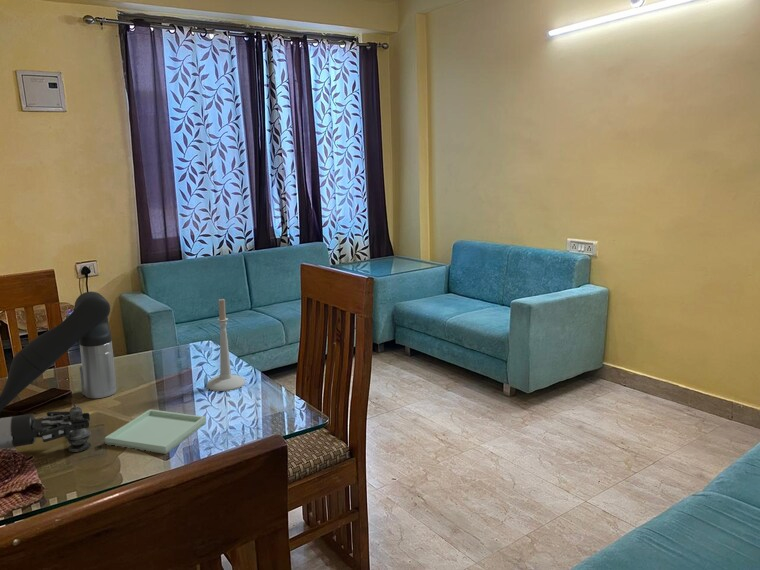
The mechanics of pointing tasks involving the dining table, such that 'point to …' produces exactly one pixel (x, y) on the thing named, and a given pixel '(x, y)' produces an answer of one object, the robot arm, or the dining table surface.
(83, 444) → the dark grey chess piece
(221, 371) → the candlestick
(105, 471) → the dining table surface
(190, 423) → the tray
